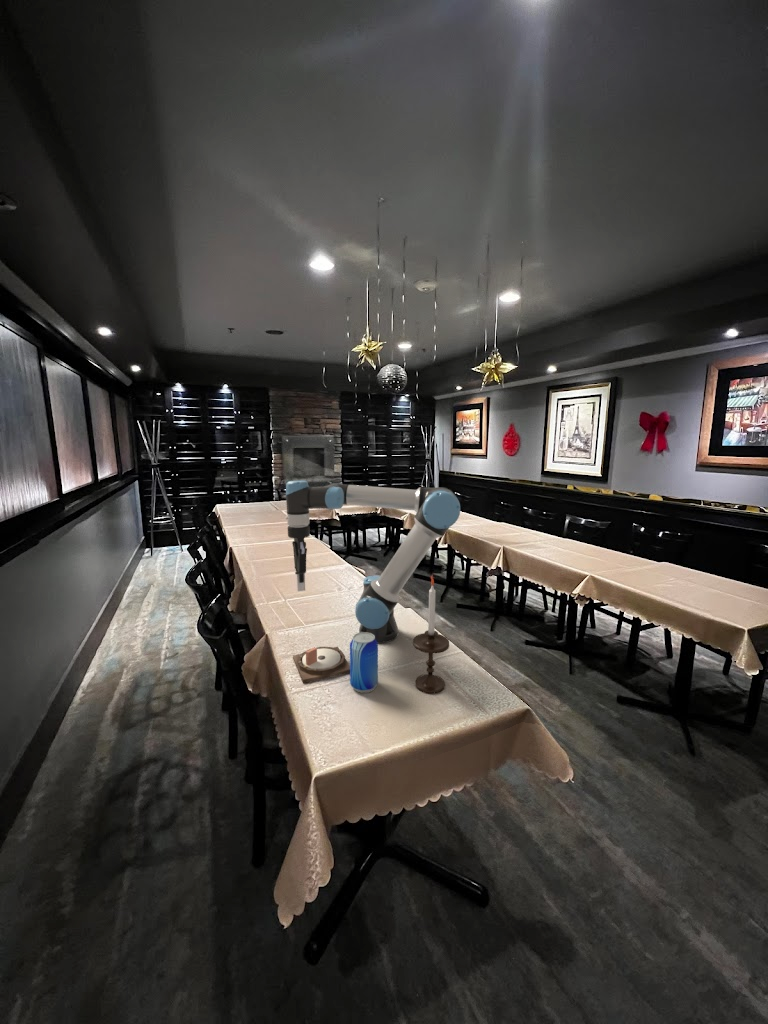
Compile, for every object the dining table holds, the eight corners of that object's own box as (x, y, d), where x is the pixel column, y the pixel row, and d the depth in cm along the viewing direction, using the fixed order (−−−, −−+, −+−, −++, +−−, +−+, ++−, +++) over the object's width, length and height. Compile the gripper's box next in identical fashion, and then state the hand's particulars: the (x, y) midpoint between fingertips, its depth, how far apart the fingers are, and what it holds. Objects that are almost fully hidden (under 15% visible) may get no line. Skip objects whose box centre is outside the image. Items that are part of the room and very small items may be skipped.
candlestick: (411, 674, 129) (413, 569, 123) (445, 675, 129) (448, 570, 123) (413, 695, 118) (414, 581, 113) (450, 696, 118) (453, 581, 112)
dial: (323, 648, 143) (322, 632, 142) (348, 660, 135) (348, 644, 134) (294, 662, 133) (293, 646, 132) (319, 676, 125) (319, 659, 124)
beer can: (367, 697, 117) (367, 646, 114) (344, 688, 121) (344, 639, 119) (383, 683, 124) (383, 635, 122) (360, 675, 128) (360, 628, 126)
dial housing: (337, 649, 145) (337, 642, 144) (352, 672, 130) (352, 664, 130) (292, 658, 138) (292, 650, 138) (302, 683, 124) (302, 674, 123)
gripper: (284, 523, 144) (287, 586, 148) (291, 529, 132) (294, 598, 136) (305, 521, 147) (307, 583, 151) (313, 527, 135) (315, 594, 139)
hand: (301, 590), depth 143 cm, fingers closed
